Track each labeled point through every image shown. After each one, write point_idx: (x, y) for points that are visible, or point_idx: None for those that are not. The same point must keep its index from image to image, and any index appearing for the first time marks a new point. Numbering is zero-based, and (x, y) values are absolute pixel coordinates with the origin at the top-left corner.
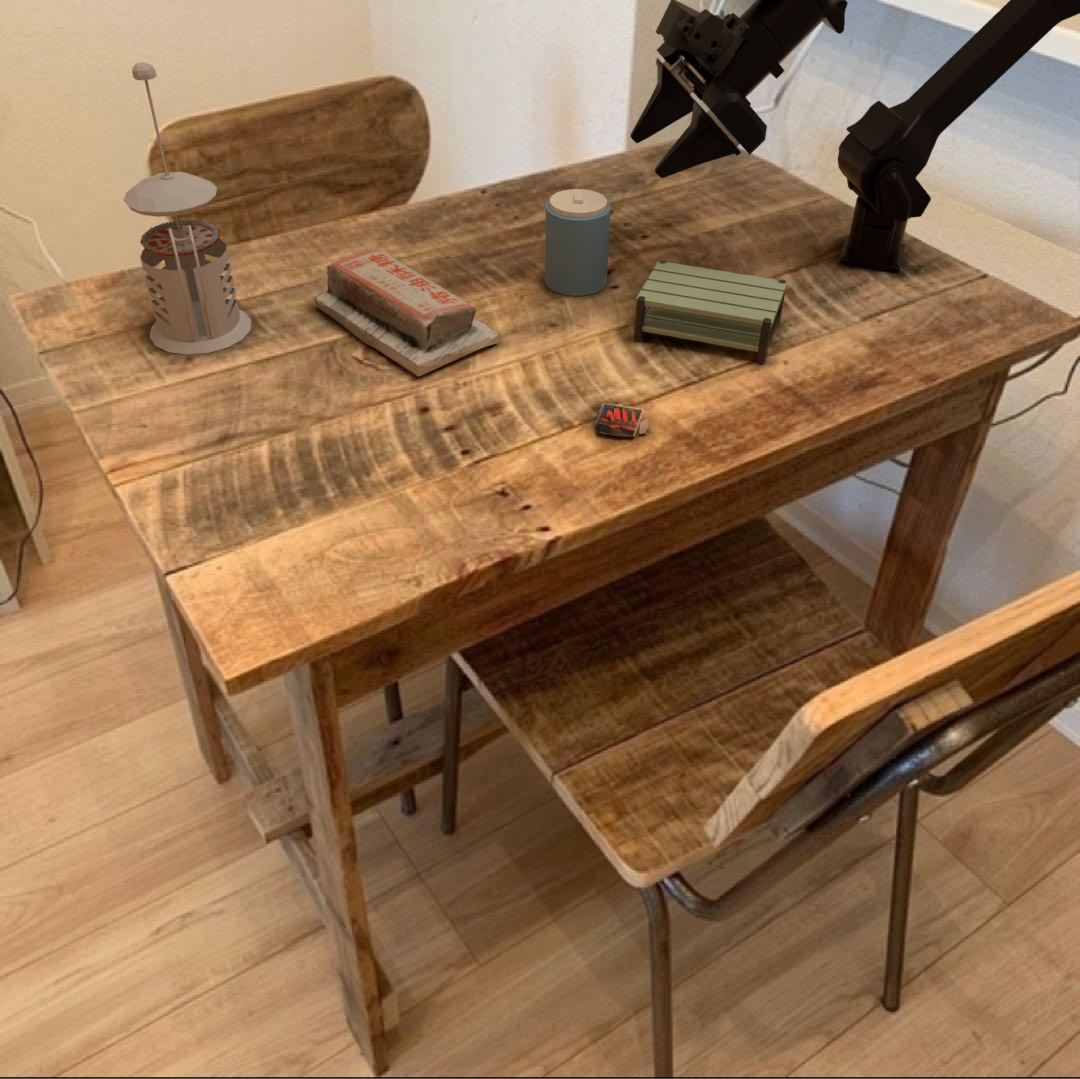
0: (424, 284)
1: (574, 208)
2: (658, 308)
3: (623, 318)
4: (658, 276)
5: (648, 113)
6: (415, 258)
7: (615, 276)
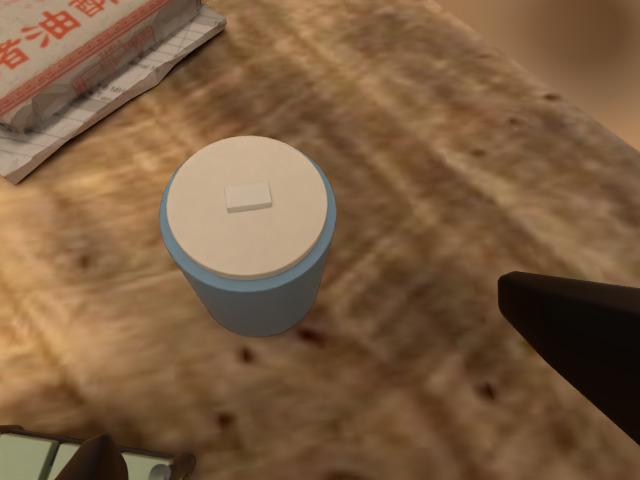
0: (51, 30)
1: (193, 195)
2: None
3: (112, 390)
4: None
5: (621, 321)
6: (298, 48)
7: (294, 351)
